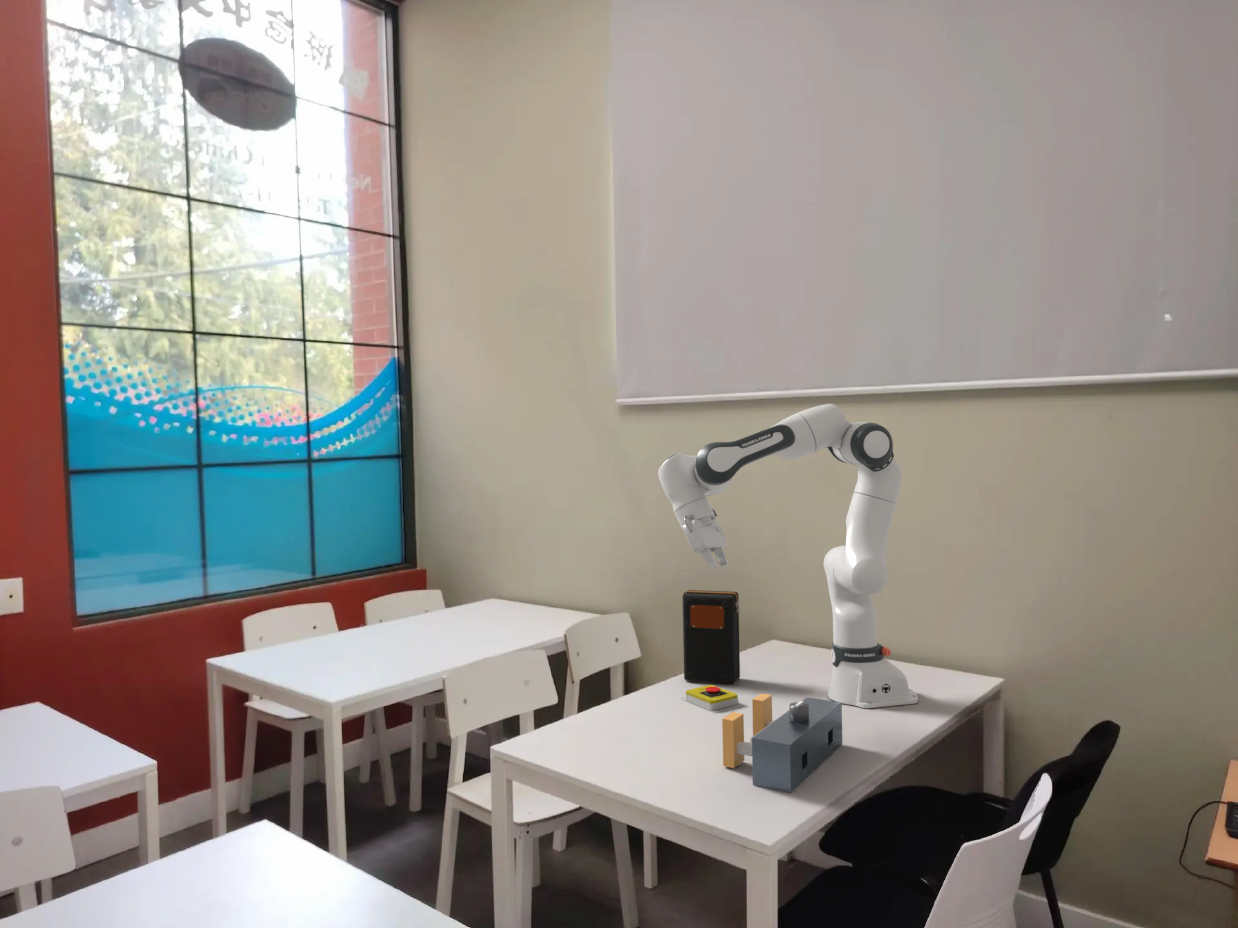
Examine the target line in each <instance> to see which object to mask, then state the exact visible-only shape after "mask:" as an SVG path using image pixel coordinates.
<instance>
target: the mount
mask: <svg viewBox="0 0 1238 928" xmlns="http://www.w3.org/2000/svg"><path fill="white" fill-rule="evenodd" d="M801 701H803V703H806V704H808V705H809V721H807V722H794V721H791V720H790V709H788V710H787V711H785V712H784V713H782V715H780V716H779V717H777V718H776V719H775V720H772V721H773V722H772V723H771V724H769V725H768V726H766V727H765V728H764V729H762V730H761V731H760V732H758V733H757V734H756V735H754V736H753V735H752V737H750V738H749V743H750V744H751V745H752V756H751V757H752V759H751V761H752V785H753V786H756V787H762V788H765V789H771V790H775V791H779V792H783V793H787V794H792V793H793V792H794V791H795V790H796V789H797V788H798V787H799V786H800V785H801V784H803V782H804V781H806V779H808V778H809V777H810V776H811V775H812V774H813V773H814V772H815V771H816V770H817V769H818V768H819V767H821V765H822V764H823V763H824V762H825V761H827V760H828V759H829V758H830V757H831V756H832V755H833V754H834V753H835V752H836V751H837V750H839V748H841V747H842V745H843V710H842V708H843V703H842V702H836V701H834V700H828V699H821V698H816V697H805V698H803V699H802V700H801Z"/></svg>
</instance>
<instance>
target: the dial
mask: <svg viewBox="0 0 1238 928" xmlns="http://www.w3.org/2000/svg"><path fill="white" fill-rule="evenodd" d="M788 705H789V707H788V708H789V710H790V720H791V721H794V722H807V721H809V705H808V704H806V703H803V701H802V700H800V701H794V702H790V703H789V704H788Z"/></svg>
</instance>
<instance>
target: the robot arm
mask: <svg viewBox="0 0 1238 928" xmlns="http://www.w3.org/2000/svg"><path fill="white" fill-rule="evenodd" d="M826 448H827V449H828V451H829V452H830V454H831V455H832V457H834V458H835V459H836V460H838V461H839V462H842V463H845V464H849V465H852V466H856V469H857V480H856V481H857V482H856V483H855V487H854V491H853V494H852V497H851V501H850V504H849V508H848V511H847V514H846V519H845V526H846V537H845V545H839V546H835V547H833V548H831V549H830V550H828V551H827V552H826V554H825V555H824V559H823V570H824V572H825V576H826V580H827V581H826V582H827V587H828V592H829V599H830V604H831V611H832V631H833V632H832V635H833V636H832V639H833V641H832V642H831V649H830V651H831V652H830V653H831V654H830V655H831V664H832V671H831V680H830V685H829V689H828V692H827V697H828V698H829V699H830V700H831V701H835V702H842V704H845V705H852V706H856V707H859V708H862V709H872V708H873V709H874V708H883V707H894V706H900V705H903V706H904V705H912V704H913V705H914V704H917V703H918V702H919V697H918V694H917V693H916V692H915V691H914V690H913V689H911V688H910V687H909V682H908V679H907V676H906V675H905V673H904V672H903V671H902V670H901V669H900V668H899V667H897V666H896V665H895V664H893V663H892V662H890V661H889V660H888V659H886V658H885V657H890V656H891V653H892V650H891V649H890V648H889V647H887V646H883V645H882V644H881V643H878V615H877V612H876V611H877V610H876V609H875V607H874V604H873V603H874V602H873V600H872V596H873V595H876V594H878V593H880V592H881V591H883V589H885V587H886V585H887V583H888V579H889V573H888V568H887V551H888V538H889V533H890V529H891V525H892V521H893V518H894V514H895V510H896V507H897V504H898V499H899V494H900V490H901V483H902V474H903V473H902V472H903V470H902V466H901V464H900V463H899V462H898V461H896V460H895V459H894V458H895V457H894V455H895V454H894V441H893V437H892V435H891V433H890V432H889V431H888V429H887V428H886V427H884V426H883V425H881V424H878V423H877V422H867V421H856V422H851V421H850V422H849V420H848V419H847V417H846V414H845V413H844V412H843V410H842V409H841V408H840V407H839V406H838V405H835V404H834V403H826V404H821V405H817V406H814V407H810V408H807V409H804V410H801V411H799V412H796V413H794V414H792V415H790V416H788V417H786V418H784V419H782V420H780V421H778V422H777V423H775V424H774V425H772V426H770V427H768V428H766V429H763V430H760V431H758V432H756V433H753V434H750V435H747V436H745V437H743V438H740V439H737V440H734V441H719V442H718V441H716V442H709V443H708V444H705V445H704V446H702V448H701V449H700V450H699V451H698V453H697V454H696V455H688V454H683V453H680V452H679V453H675V454H672V455H670V456H669V457H668V458H666V459H665V460H664V461H663V462H662V463H660V466H659V467H658V471H657V476H658V479H659V482H660V485H661V487H662V489H663V492H664V495H665V496H666V498H667V499H668V501H669V502H670V504H671V505H672V510H673V514H674V515H675V517H676V520H677V522H678V523H679V526H680V528H681V530H682V531H683V532H684V535H685V537H686V540H687V541H688V544H689V546H690V549H691V550H692V551H693V553H695V554H697V553H698V554H699V553H700V555H701V556H702V558H703V559H704V560H705V561H706V563H707V565H708V567H709V569H715V568H717V567H719V566H720V568H725V567H728V565H729V562H728V560H727V557H726V553H725V550H724V549H726V548H727V547H728V543H727V539H726V536H725V534H724V532H723V529H722V526H721V525H720V522H719V521H718V518H719V516H718V514H717V512H716V510H715V509H713V508H712V506H711V504H710V502H709V500H708V499H707V496H712V495H716V494H719V493H722V492H723V491H725V490H726V489H727V488H728V487H729V485H730V484H731V481H732V479H733V477H734V476H735V475H736V474H737V473H738V471H740V470H741V468H743V467H744V466H748V465H750V464H752V463H754V462H757V461H760V460H762V459H765V458H767V457H770V456H775V455H776V456H779V457H780V458H782V459H783V460H787V461H794V460H798V459H802V458H805V457H807V456H810V455H812V454H815V453H816V452H818V451H821V450H823V449H826ZM712 553H714V555H715V556H716V557H717V560H716V558H715V557H714V555H713V554H712ZM717 561H718V562H717ZM718 565H719V566H718Z"/></svg>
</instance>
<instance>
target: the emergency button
mask: <svg viewBox="0 0 1238 928" xmlns="http://www.w3.org/2000/svg"><path fill="white" fill-rule="evenodd" d="M738 697H739V696H738V693H735V692H733V691H729V690H727V689H725V688H722V687H720V686H719V687H718V686H716V685H713V684H707V685H703V686H699V687H694V688H690V689H687V690H685V696H684V697H680V700H681V701H684V702H686V703H689V704H690V705H693V706H696V707H697V708H698V707H699V708H701V709H703V710H706V711H708V712H711V713H713V714H719V713H723V712H728V711H731V710H735V709H739V708H742V706H743V705H742V704H740V703H739V699H738Z"/></svg>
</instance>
